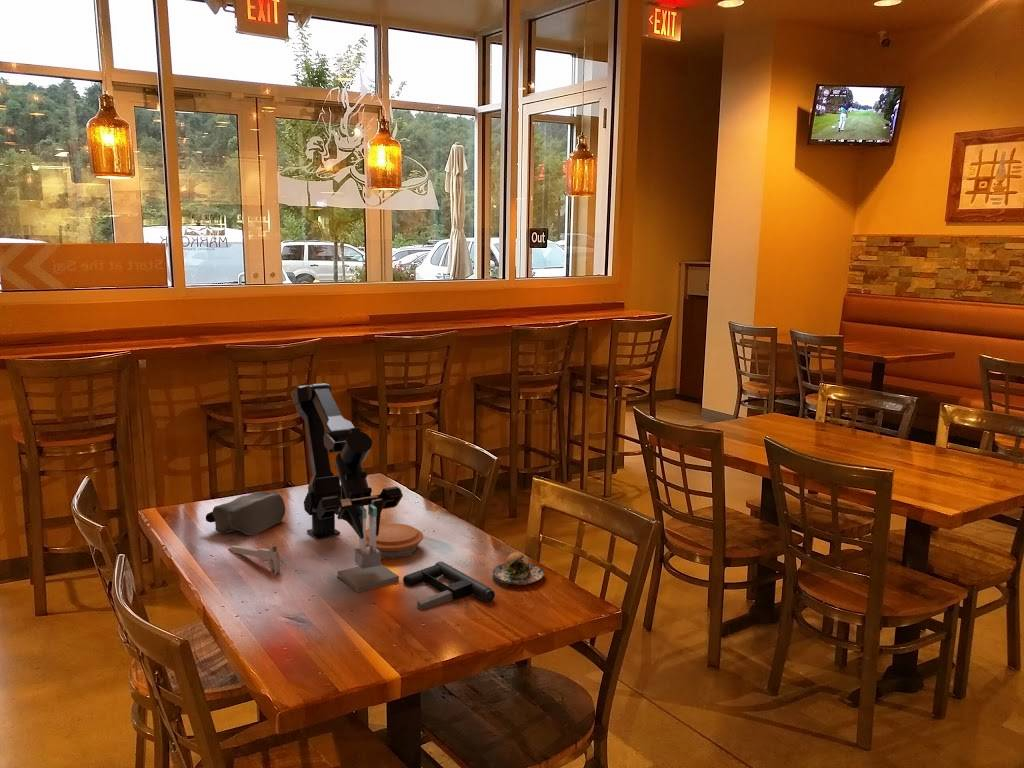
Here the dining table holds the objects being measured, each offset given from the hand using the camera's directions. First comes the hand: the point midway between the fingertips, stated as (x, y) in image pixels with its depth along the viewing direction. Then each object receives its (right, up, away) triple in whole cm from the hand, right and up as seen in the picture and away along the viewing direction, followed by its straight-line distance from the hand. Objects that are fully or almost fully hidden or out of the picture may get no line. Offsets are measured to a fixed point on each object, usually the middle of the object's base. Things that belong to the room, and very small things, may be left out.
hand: (369, 536), depth 179 cm
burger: (+33, -11, +6) cm, 35 cm away
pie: (+2, -7, +20) cm, 22 cm away
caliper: (-29, -8, +11) cm, 32 cm away
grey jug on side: (-38, -4, +33) cm, 50 cm away
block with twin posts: (-1, -6, +2) cm, 7 cm away
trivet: (-1, -10, +3) cm, 10 cm away
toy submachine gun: (+16, -12, -3) cm, 20 cm away
